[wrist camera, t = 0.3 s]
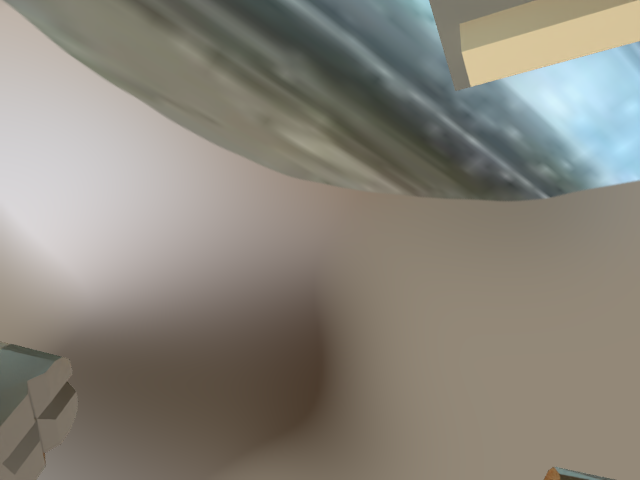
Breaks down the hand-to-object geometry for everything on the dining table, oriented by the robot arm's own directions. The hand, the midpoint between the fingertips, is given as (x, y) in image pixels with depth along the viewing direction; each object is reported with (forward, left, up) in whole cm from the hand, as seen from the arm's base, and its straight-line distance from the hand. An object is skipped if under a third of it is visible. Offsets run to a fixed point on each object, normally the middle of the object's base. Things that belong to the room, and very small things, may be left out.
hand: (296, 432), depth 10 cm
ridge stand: (+2, +22, -50) cm, 55 cm away
